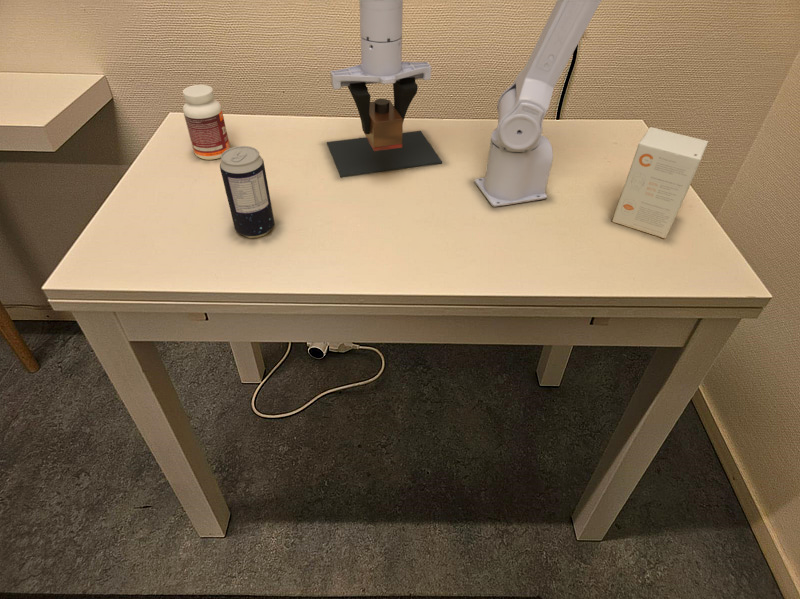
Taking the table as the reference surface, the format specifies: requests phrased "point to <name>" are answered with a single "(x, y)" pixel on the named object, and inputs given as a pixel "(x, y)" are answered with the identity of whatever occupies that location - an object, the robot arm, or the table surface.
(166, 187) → the table surface
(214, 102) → the pill bottle
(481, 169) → the table surface
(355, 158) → the desk mat
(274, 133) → the table surface
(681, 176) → the small box
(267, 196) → the beverage can
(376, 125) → the stamp
